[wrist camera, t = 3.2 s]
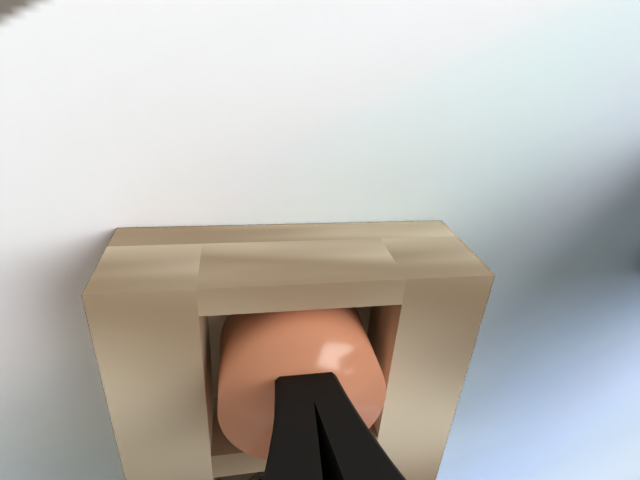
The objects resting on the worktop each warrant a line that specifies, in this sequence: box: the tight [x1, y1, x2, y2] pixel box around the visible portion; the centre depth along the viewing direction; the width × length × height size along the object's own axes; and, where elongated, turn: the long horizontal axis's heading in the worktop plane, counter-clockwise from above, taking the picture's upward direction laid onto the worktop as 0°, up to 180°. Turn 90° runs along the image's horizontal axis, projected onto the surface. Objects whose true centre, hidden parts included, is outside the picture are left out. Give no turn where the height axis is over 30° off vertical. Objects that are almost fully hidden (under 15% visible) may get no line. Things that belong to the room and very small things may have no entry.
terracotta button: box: [217, 307, 386, 460], centre depth 11 cm, size 4×4×2 cm
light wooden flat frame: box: [81, 221, 495, 480], centre depth 15 cm, size 17×9×3 cm, turn 176°
